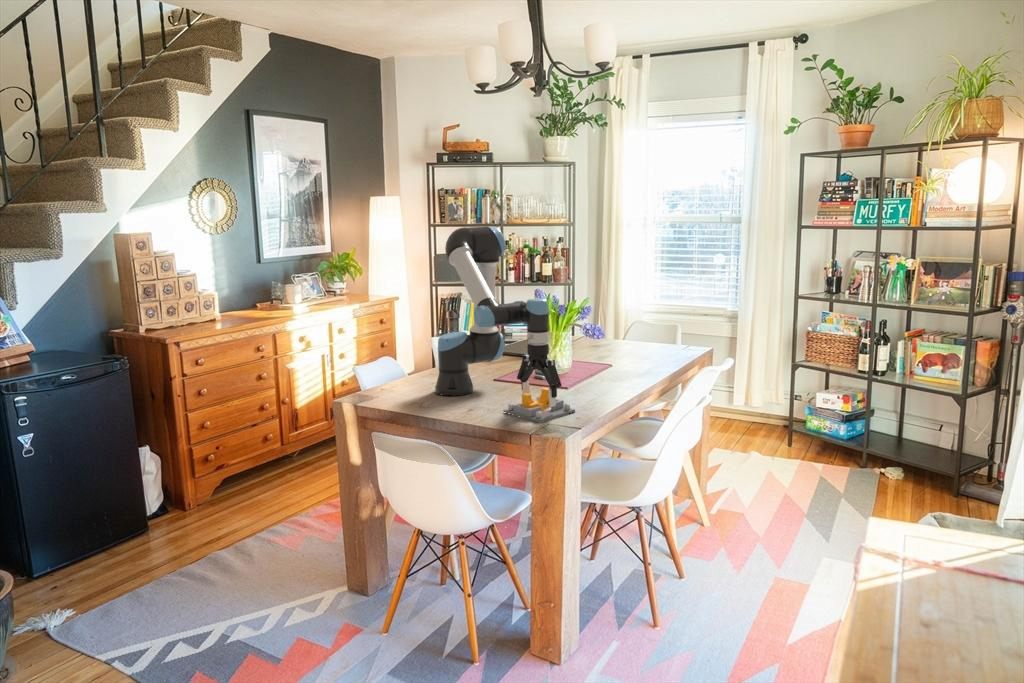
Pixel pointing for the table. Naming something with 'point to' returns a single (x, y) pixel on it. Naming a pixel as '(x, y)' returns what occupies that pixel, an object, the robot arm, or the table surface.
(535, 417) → the chassis
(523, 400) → the orange bracket
